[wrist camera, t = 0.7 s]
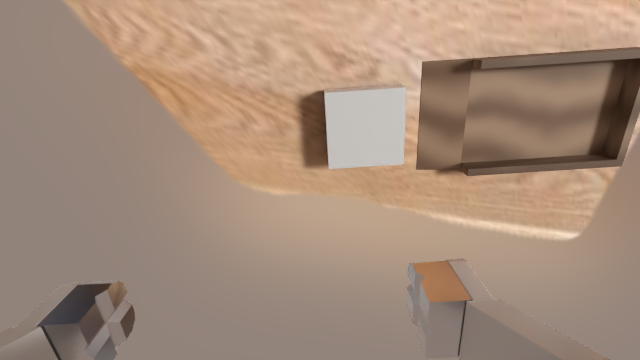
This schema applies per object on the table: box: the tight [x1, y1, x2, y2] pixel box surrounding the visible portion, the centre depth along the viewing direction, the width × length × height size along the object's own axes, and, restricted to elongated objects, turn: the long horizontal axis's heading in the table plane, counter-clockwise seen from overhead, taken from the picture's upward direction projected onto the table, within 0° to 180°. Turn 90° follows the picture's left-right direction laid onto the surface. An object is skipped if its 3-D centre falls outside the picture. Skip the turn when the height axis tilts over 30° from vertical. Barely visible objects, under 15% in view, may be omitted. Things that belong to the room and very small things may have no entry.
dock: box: [417, 47, 640, 176], centre depth 43 cm, size 15×27×4 cm, turn 94°
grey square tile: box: [324, 84, 406, 169], centre depth 43 cm, size 10×10×4 cm
